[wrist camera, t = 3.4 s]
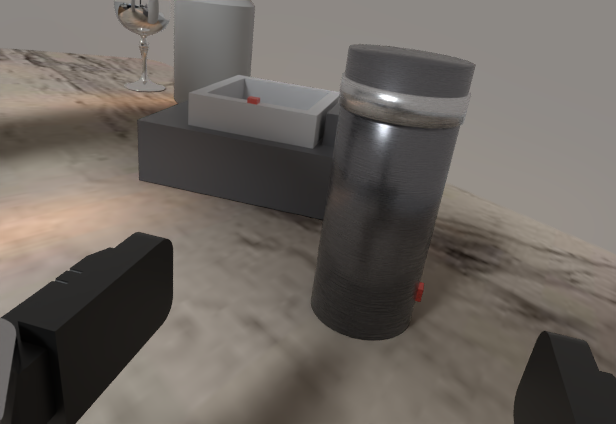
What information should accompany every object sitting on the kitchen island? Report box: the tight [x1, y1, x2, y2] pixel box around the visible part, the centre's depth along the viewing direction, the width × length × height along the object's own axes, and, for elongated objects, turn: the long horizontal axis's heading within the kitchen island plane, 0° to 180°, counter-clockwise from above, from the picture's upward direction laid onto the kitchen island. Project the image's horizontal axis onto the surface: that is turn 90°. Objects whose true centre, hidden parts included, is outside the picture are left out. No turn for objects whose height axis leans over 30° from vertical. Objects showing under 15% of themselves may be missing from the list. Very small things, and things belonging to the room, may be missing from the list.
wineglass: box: [114, 0, 171, 92], centre depth 54 cm, size 6×6×12 cm
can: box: [174, 0, 255, 104], centre depth 48 cm, size 8×8×12 cm
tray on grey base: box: [137, 75, 340, 220], centre depth 34 cm, size 14×10×6 cm
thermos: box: [311, 44, 475, 340], centre depth 20 cm, size 5×5×11 cm
